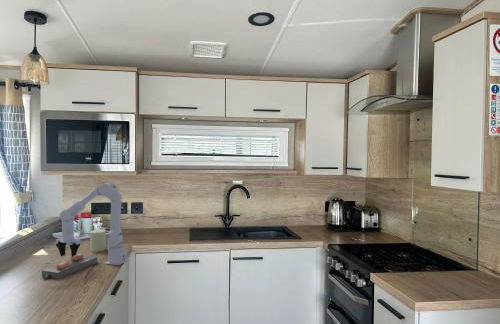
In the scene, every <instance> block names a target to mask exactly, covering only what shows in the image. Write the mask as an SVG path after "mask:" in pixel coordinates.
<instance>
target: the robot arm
mask: <svg viewBox="0 0 500 324" xmlns="http://www.w3.org/2000/svg"><path fill="white" fill-rule="evenodd" d="M98 196H103V197H105V198H107V199H108V200H109V201H110V230H109V231H108V232H109V233H108V237H107V238H106V246H107V255H108V256H107V257H108V258H107V260H108V261H106V262H104V264H105V265H111V266H112V265H114V266H120V265H123V264H124V263H127V262H129V260H128V249H127V247H125V246H123V243H122V242H123V241H124V235H123V233H122V232H123V231H122V228H121V221H122V219H121V218H122V217H121V216H122V194H121V193H120V192H119V190H118V187H117V185H116V184H114V183H112V182H106V183H102V184H100V185H99V186H97V187H95V188H94V189H92V190H91V191H90V192H89V193H88V194H87V195H86V196H84V197H83V198H82V199H78V200H74V201H73V202H72V204H71V205H70V206H67V207H66V209H65V210H61V212H60V214H59V218H60V220H61V238H56V240H55V241H56V243H55V246H56V247H57V249H58V251H59V255H60V257H64V256H66V248H67V244H69V245H68V246H69V248H70V254H71V256H74V255H77V254H78V253H77V252H78V250H79V247H80V245H81V240H80V239H76V238H75V233H74V232H75V230H74V229H75V227H74V225H75V223H74V221H75V220H74V218H75V217H76V216H78V214H79V213H81V212H82V211H83V210H85V208H86V205H87V204H88V203H89V202H91V201H92V200H93V199H95V198H96V197H98Z"/></svg>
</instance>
